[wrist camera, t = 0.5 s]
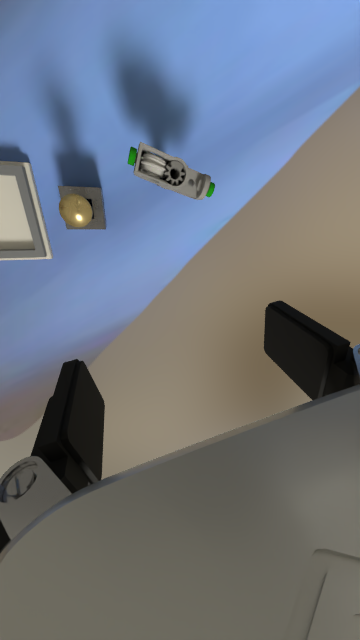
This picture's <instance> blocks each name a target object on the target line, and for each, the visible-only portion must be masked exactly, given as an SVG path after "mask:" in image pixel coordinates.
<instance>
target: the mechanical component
mask: <svg viewBox="0 0 360 640" xmlns="http://www.w3.org/2000/svg"><path fill="white" fill-rule="evenodd" d="M136 152H137V149H135V148H133V147H131V148H130V153H129V159H128V164H130V165H132V166H134V163H135V168H134V175H136V176H138V177H140V178H142V179H145V180H147V181H150V182H152V183H155V184H157V185H158V186H161V187H162V188H164V189H168V190H172V191H175V192H177V193H180V194H182V195H185V196H187V197H190V198H193V199H197V200H202V199H203V198H204V197H205V196H207V197H210V196H211V195H212V194H213V191H214V188H215V184H214V183H212V182H210V181H211V177H210V176H209V175H206V174H201V173H199V172H197V171H195V170H192V169H190V168H188V166H187V165H186V164H185V162H184V161H183V160H182V159H180V158H178V157H172V156H170V155H168V154H166V153H164V152H162V151H159V150H157V149H155V148H153V147H151V146H148V145H146V144H144V143H142V142H140V144H139V147H138V152H137V153H136ZM150 152H153V153H156V154H158V155H160V156H162V157H159V156H157V155H154V154H152V153H150Z"/></svg>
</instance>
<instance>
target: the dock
mask: <svg viewBox="0 0 360 640" xmlns="http://www.w3.org/2000/svg"><path fill="white" fill-rule="evenodd" d="M52 258H53V254H52V250H51V246H50V242H49V237H48V233H47V229H46V225H45V221H44V217H43V213H42V208H41V204H40V200H39V196H38V192H37V188H36V184H35V179H34V175H33V171H32V167H31V164H30V163H24V162H9V161H0V260H25V259H52Z"/></svg>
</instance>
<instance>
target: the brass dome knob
mask: <svg viewBox="0 0 360 640" xmlns="http://www.w3.org/2000/svg"><path fill="white" fill-rule="evenodd" d="M59 211H60V214H61V216H62V218H63V219H64V221H65V222H66V223H68V224H69V225H71V226H74V227H84V226H86V225H87V224H88V223H89V222H90V221H91V219H92V216H93V211H92V207H91V205H90V203H89V202H88V201H87V200H86V199H85V198H84V197H83V196H81V195H78V194H67V195H65V196H64V197H63V198H62V199H61V201H60V203H59Z"/></svg>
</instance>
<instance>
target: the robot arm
mask: <svg viewBox="0 0 360 640" xmlns="http://www.w3.org/2000/svg"><path fill="white" fill-rule="evenodd" d="M349 345H350V342H349V341H348V340H346V339H344V338H343V337H341V336H339V335H338V334H336V333H334V332H333V331H331V330H329V329H328V328H326V327H324V326H323V325H321V324H319V323H318V322H316V321H314V320H313V319H311V318H309V317H308V316H306V315H304V314H303V313H301V312H299V311H298V310H296V309H294V308H293V307H291V306H289V305H288V304H286V303H284V302H283V301H276V302H273V303H270V304H269V305H268V307H266V310H265V334H264V350H265V352H266V354H267V355H268V356H269V357H270V358H271V359H272V360H273V361H274V362H275V363H276V364H277V365H278V366H279V367H280V368H281V369H282V370H283V371H284V372H285V373H286V374H287V375H288V376H289V377H290V378H291V379H292V380H293V381H294V382H295V383H296V384H297V385H298V386H299V387H300V388H301V389H302V390H303V391H304V392H305V393H306V394H307V395H308V396H309V397H310V398H311V399H312V400H313V401H310V402H307V403H305V404H302V405H299V406H296V407H293V408H291V409H288V410H285V411H283V412H280V413H277V414H274V415H271V416H269V417H266V418H264V419H261V420H258V421H256V422H252V423H250V424H247V425H244V426H242V427H239V428H236V429H233V430H231V431H228V432H225V433H223V434H220V435H217V436H215V437H212V438H209V439H206V440H204V441H202V442H199V443H196V444H193V445H191V446H188V447H185V448H183V449H180V450H177V451H175V452H172V453H169V454H167V455H164V456H161V457H159V458H156V459H153V460H151V461H148V462H146V463H143V464H140V465H138V466H135V467H133V468H130V469H128V470H125V471H123V472H120V473H118V474H115V475H112V476H110V477H107V478H105V479H103V480H101V476H102V455H103V432H104V409H105V405H104V400H103V398H102V396H101V394H100V392H99V390H98V388H97V387H96V385H95V383H94V381H93V379H92V377H91V375H90V373H89V371H88V369H87V367H86V365H85V363H84V362H83V361H79V360H78V359H75V360H72V361H68V362H65V363H63V366H62V369H61V372H60V375H59V379H58V382H57V385H56V388H55V392H54V395H53V396H52V397H51V398H50V399H49V401H48V404H47V407H46V410H45V413H44V416H43V419H42V423H41V425H40V429H39V432H38V435H37V438H36V441H35V444H34V447H33V450H32V453H31V456H30V457H27V458H24V459H22V460H20V461H18V462H17V463H15V464H14V465H13V466H11V467H10V468H9V469H8V470H7V471H6V472H5V473H4V474H3V476H2V477H1V478H0V640H360V344H359V345H357V346H355V347H354V348H353V349H352V348H351V347H349Z"/></svg>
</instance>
